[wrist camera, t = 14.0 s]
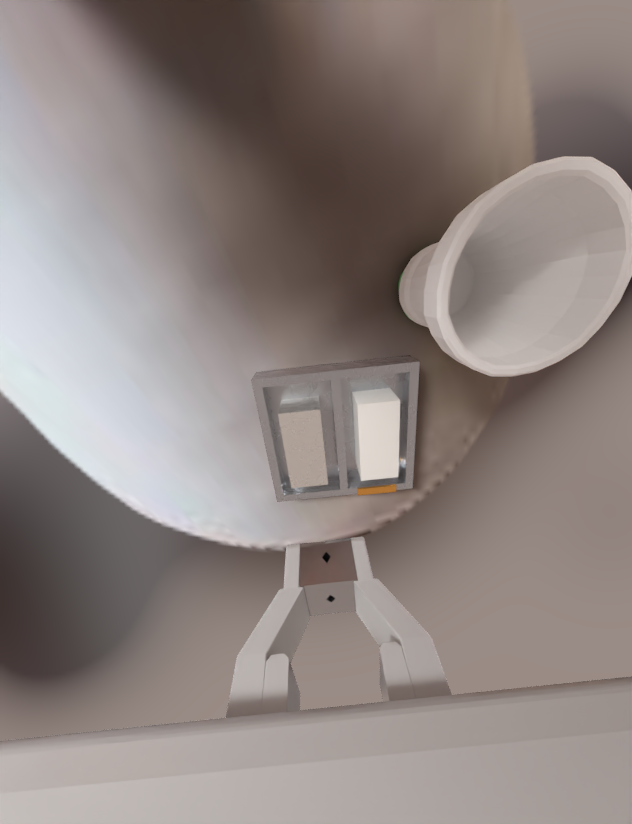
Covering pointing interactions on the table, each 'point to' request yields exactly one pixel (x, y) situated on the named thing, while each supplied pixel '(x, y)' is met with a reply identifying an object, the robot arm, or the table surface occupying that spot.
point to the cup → (526, 268)
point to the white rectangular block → (376, 433)
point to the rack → (331, 425)
